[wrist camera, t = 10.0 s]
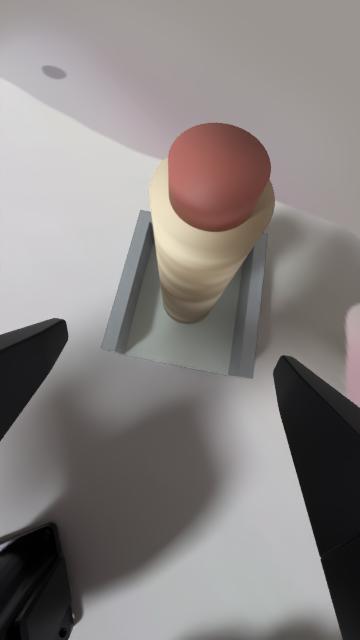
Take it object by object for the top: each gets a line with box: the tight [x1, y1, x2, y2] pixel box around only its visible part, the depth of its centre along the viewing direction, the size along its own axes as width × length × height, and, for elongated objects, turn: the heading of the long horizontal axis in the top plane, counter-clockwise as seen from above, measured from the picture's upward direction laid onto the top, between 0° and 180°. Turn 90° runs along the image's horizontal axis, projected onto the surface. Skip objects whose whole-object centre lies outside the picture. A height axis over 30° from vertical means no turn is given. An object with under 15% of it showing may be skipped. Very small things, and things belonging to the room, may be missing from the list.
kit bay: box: [101, 210, 268, 379], centre depth 18 cm, size 11×12×4 cm
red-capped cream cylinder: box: [149, 123, 275, 324], centre depth 13 cm, size 5×5×13 cm
